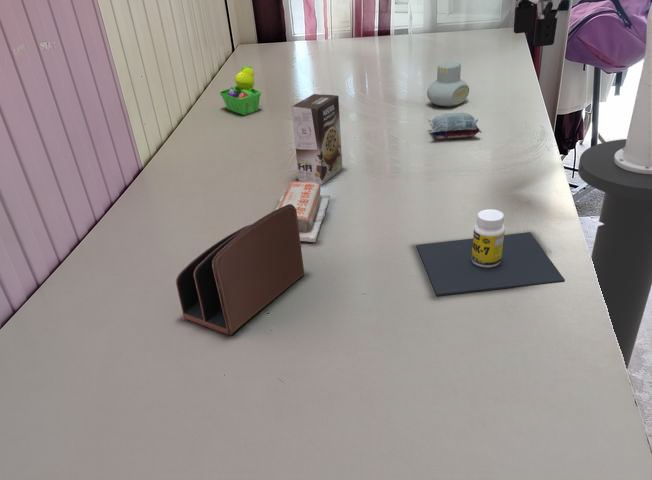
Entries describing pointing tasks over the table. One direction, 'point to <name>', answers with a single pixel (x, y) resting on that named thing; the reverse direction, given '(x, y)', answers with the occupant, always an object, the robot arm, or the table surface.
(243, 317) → the letter holder
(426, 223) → the table surface
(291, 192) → the packaged product
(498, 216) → the supplement bottle
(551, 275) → the mat
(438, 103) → the air freshener
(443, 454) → the table surface
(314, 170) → the coffee box
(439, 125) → the packaged food
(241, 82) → the fruit basket
